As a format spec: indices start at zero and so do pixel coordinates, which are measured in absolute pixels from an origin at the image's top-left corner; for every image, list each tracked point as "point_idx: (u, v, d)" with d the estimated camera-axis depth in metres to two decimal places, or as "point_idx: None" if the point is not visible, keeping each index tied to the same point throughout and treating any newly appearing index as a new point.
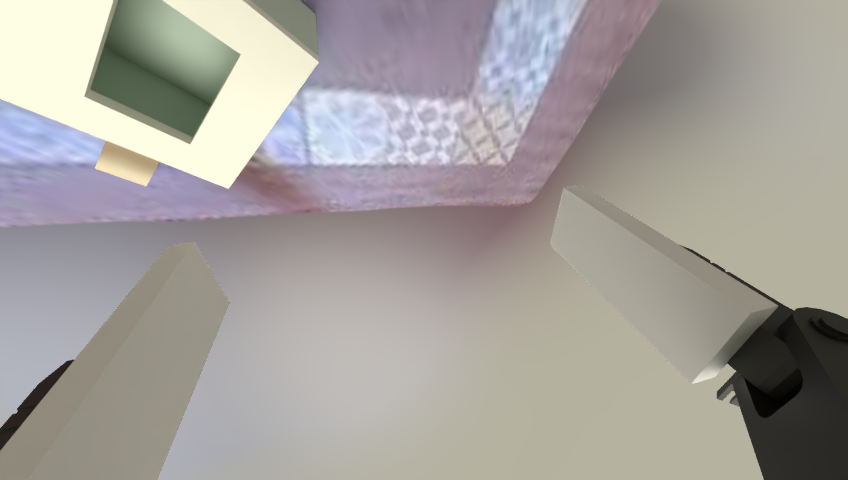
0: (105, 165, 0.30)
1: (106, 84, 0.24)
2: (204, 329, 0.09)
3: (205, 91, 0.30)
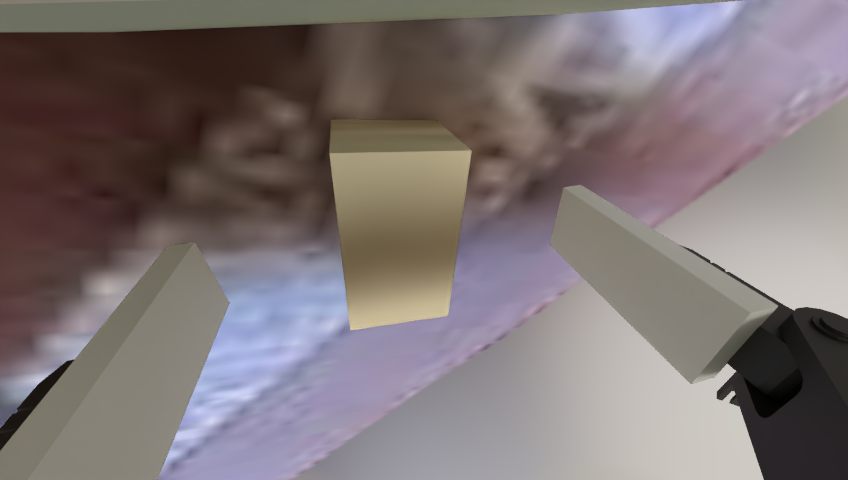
0: (364, 311, 0.11)
1: None
2: (204, 329, 0.09)
3: None
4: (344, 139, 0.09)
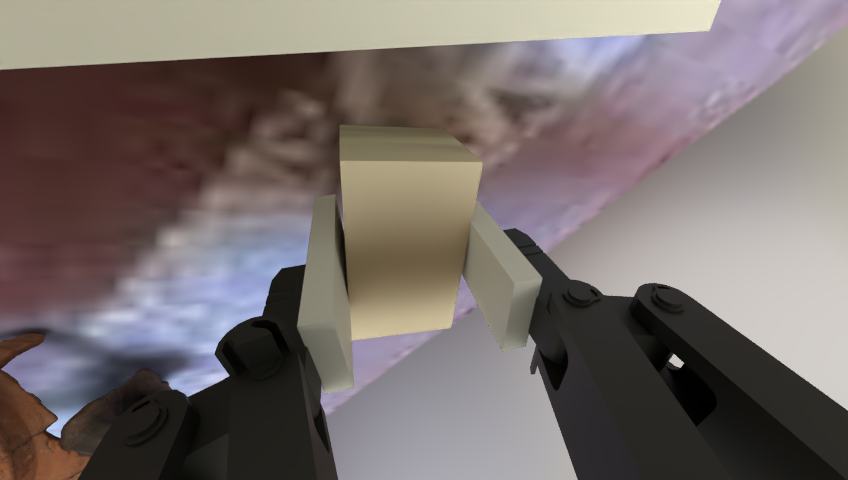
0: (366, 322, 0.11)
1: None
2: None
3: None
4: (353, 146, 0.09)
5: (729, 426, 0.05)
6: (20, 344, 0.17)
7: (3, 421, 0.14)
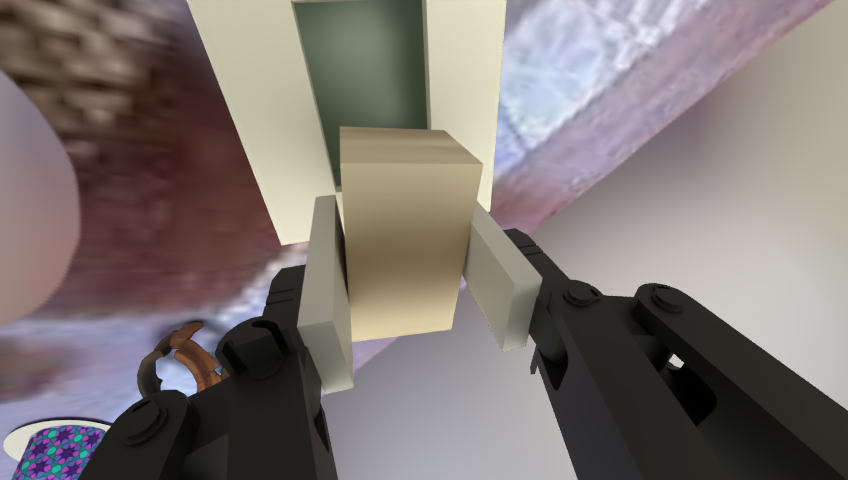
0: (366, 323, 0.11)
1: None
2: None
3: None
4: (354, 148, 0.09)
5: (729, 426, 0.05)
6: (194, 327, 0.32)
7: (199, 364, 0.29)
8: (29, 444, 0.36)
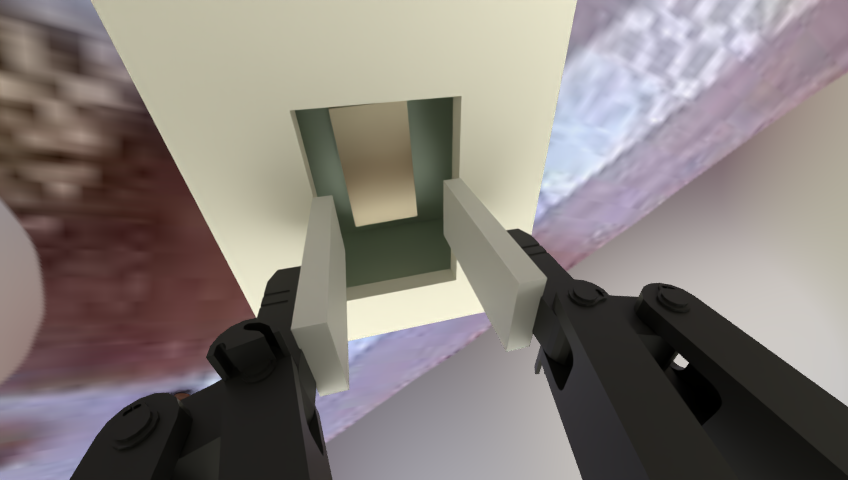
0: (362, 212, 0.19)
1: (348, 270, 0.20)
2: (342, 263, 0.12)
3: None
4: None
5: (734, 426, 0.05)
6: None
7: None
8: None
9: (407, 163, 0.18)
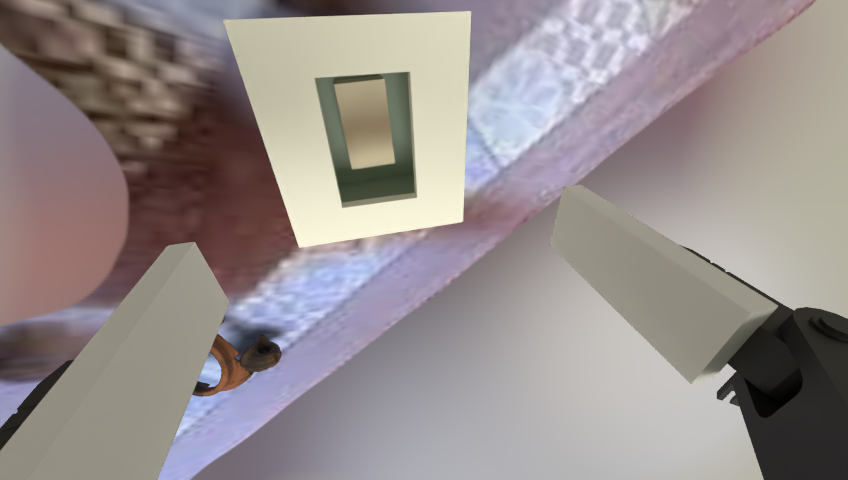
0: (356, 159, 0.27)
1: (346, 201, 0.28)
2: (204, 329, 0.09)
3: (396, 166, 0.32)
4: (339, 81, 0.25)
5: None
6: None
7: (223, 352, 0.35)
8: None
9: (386, 123, 0.26)
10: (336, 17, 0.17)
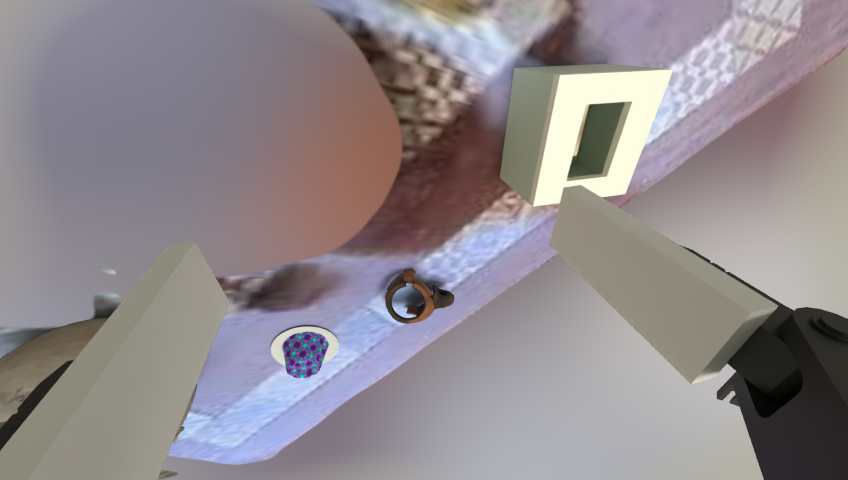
0: None
1: None
2: (204, 329, 0.09)
3: None
4: None
5: None
6: (413, 272, 0.52)
7: (425, 291, 0.50)
8: (286, 344, 0.55)
9: (581, 129, 0.41)
10: (609, 73, 0.32)
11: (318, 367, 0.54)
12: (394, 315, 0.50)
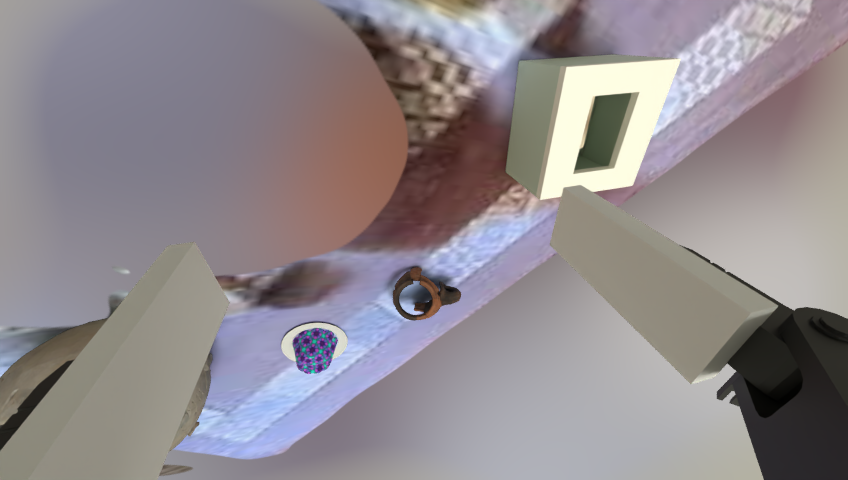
0: None
1: None
2: (204, 329, 0.09)
3: None
4: None
5: None
6: (419, 269, 0.53)
7: (432, 288, 0.50)
8: (296, 341, 0.56)
9: (587, 121, 0.41)
10: (616, 64, 0.32)
11: (328, 362, 0.55)
12: (402, 312, 0.51)
